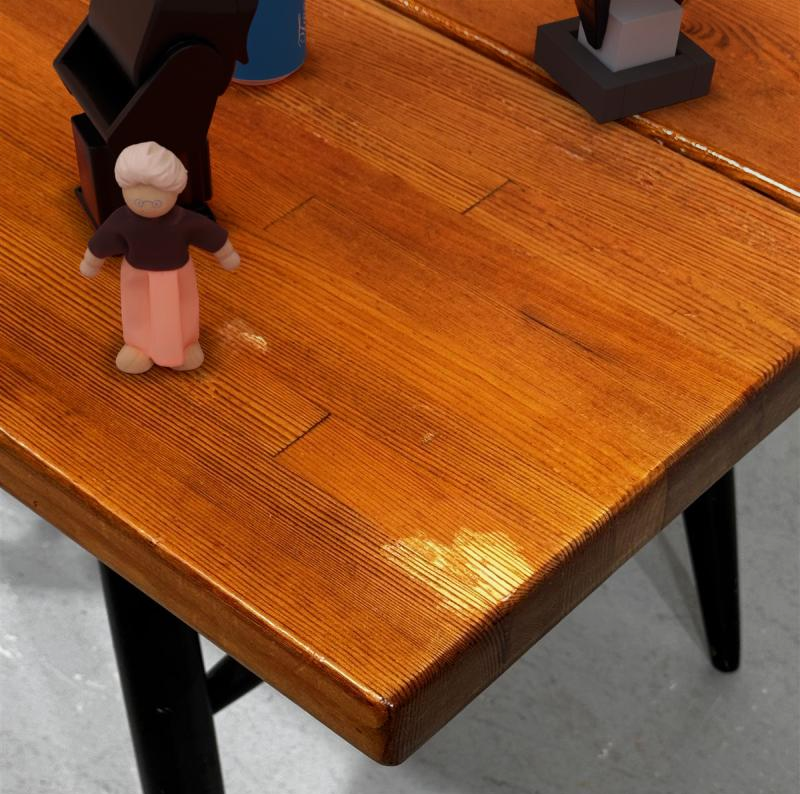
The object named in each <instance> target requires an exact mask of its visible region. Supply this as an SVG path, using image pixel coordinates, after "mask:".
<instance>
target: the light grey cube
mask: <svg viewBox="0 0 800 794" xmlns="http://www.w3.org/2000/svg"><path fill="white" fill-rule="evenodd" d="M683 13H684V8H683V6H682V5H681V6H680V5H679V4H677V3H676V2H675V1H674V0H611V3H610V9H609V16H608V23H607V29H606V33H605V37H604V40H603V44H602V47H601V49H598V50H595V49H593V48H592V47H591V46H590V45H589V44H588V42H587V39H586V36H585V33H584V30H583V27H582V23H581V20H580V27H579V34H578V41H579V42H580V43H581V44H582V45H583V46H584V47H585V48H586V49H588V50H589V51H590V52H591V53H592V54H593V55H594V56H595V57H596V58H597V59H599V60H600V61H601V62H602V63H603V64H604V65H605V66H606V67H607V68H608V69H610V70H611V71H612V72H613V73H614V72H616V71H620V70H624V69H628V68H632V67H636V66H639V65H643V64H647V63H651V62H655V61H659V60H662V59H666V58H670V57H674V56H675V52H676V46H677V41H678V36H679V30H680V31H681V23H682V20H683V19H682V18H683V15H684V14H683Z"/></svg>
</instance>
